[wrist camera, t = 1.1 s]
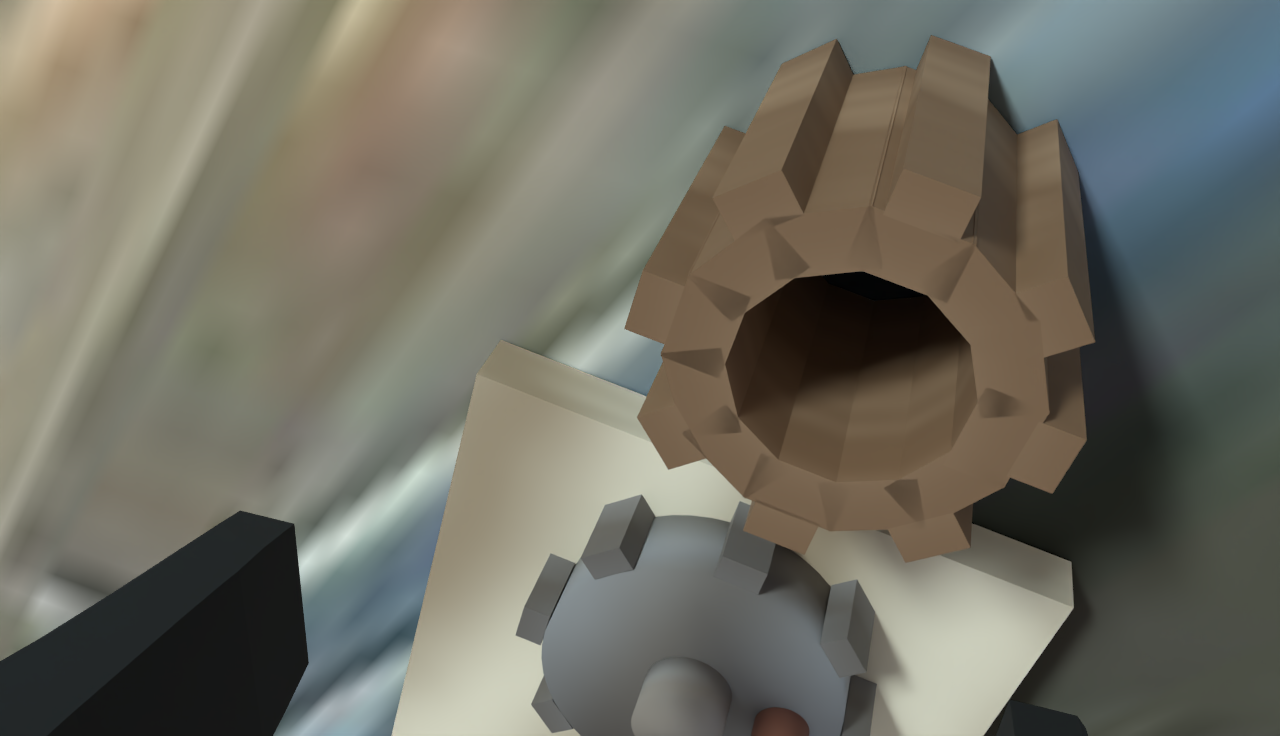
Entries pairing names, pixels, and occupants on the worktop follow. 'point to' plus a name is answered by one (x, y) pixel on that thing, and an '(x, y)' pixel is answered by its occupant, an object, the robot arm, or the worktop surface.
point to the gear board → (610, 452)
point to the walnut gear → (873, 305)
